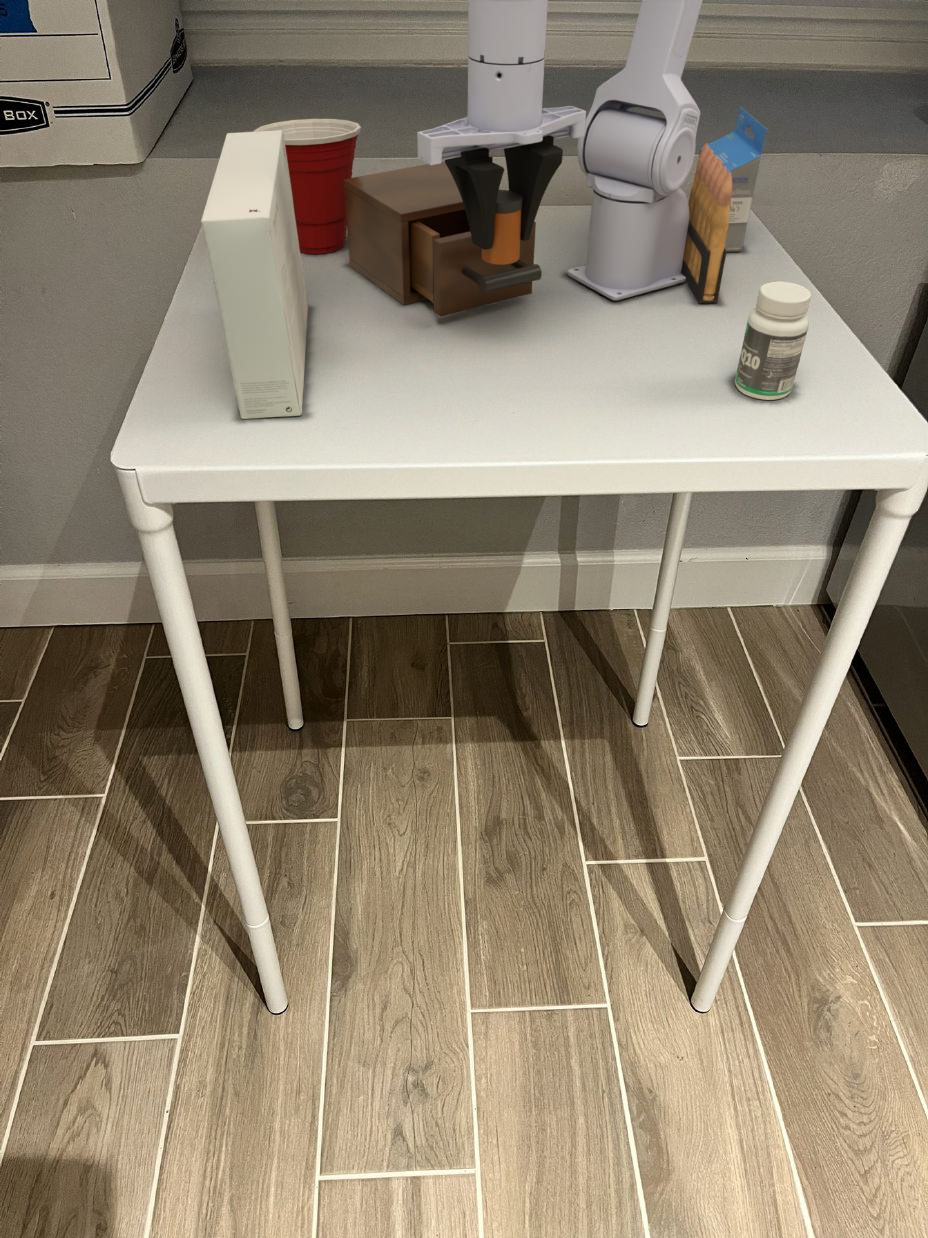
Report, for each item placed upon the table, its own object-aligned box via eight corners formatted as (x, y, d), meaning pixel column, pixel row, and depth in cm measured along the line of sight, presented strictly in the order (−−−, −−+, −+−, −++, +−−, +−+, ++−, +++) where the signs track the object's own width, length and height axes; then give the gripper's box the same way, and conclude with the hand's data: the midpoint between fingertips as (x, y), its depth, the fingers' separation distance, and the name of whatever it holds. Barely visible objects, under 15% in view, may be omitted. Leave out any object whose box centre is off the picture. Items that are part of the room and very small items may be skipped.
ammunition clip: (717, 303, 94) (742, 174, 86) (698, 304, 94) (721, 174, 86) (693, 261, 102) (713, 139, 94) (676, 261, 102) (695, 139, 94)
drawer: (558, 309, 91) (564, 236, 86) (465, 334, 87) (465, 259, 82) (474, 258, 100) (475, 189, 96) (386, 278, 96) (382, 208, 91)
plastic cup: (349, 220, 110) (341, 105, 103) (381, 253, 103) (375, 132, 95) (256, 234, 107) (240, 116, 99) (283, 268, 100) (268, 144, 92)
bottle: (505, 247, 83) (507, 186, 80) (527, 260, 81) (530, 198, 78) (473, 255, 82) (474, 193, 78) (495, 268, 80) (496, 205, 76)
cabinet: (503, 280, 98) (506, 192, 92) (403, 305, 93) (400, 213, 88) (444, 244, 105) (443, 160, 100) (349, 265, 101) (343, 178, 95)
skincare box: (251, 309, 92) (225, 129, 82) (308, 307, 93) (290, 128, 82) (233, 421, 77) (198, 216, 66) (302, 418, 77) (278, 214, 66)
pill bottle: (729, 373, 83) (749, 278, 78) (784, 375, 83) (808, 279, 78) (739, 401, 80) (761, 302, 74) (797, 402, 80) (823, 303, 74)
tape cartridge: (686, 224, 110) (704, 105, 102) (719, 223, 111) (740, 105, 103) (709, 253, 104) (731, 129, 96) (744, 252, 104) (769, 128, 96)
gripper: (451, 79, 66) (452, 274, 75) (616, 55, 72) (598, 239, 81) (401, 59, 70) (407, 245, 79) (560, 38, 76) (549, 214, 85)
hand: (500, 240), depth 80 cm, fingers closed on bottle, 3 cm apart
